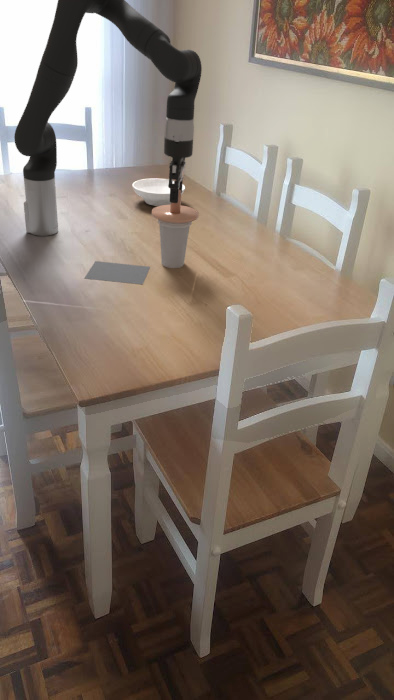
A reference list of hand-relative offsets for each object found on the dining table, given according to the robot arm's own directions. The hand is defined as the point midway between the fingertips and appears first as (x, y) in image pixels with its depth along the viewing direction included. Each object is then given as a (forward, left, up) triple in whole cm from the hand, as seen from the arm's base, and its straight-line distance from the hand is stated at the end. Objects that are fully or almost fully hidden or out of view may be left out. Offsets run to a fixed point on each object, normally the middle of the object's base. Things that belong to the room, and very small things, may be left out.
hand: (175, 197), depth 157 cm
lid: (0, 0, -5) cm, 5 cm away
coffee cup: (0, 0, -20) cm, 20 cm away
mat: (-14, -10, -20) cm, 26 cm away
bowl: (-13, +55, -20) cm, 60 cm away
